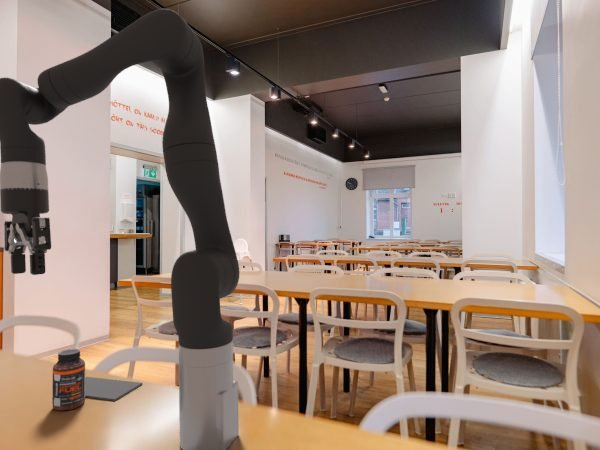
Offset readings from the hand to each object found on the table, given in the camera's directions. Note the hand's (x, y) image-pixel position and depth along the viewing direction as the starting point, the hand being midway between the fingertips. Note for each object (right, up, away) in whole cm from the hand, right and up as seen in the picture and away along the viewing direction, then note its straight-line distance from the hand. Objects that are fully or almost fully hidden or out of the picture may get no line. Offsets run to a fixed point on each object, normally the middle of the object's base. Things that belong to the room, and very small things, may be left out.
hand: (28, 273), depth 74 cm
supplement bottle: (+3, -29, +8) cm, 30 cm away
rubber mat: (+5, -29, +16) cm, 33 cm away
